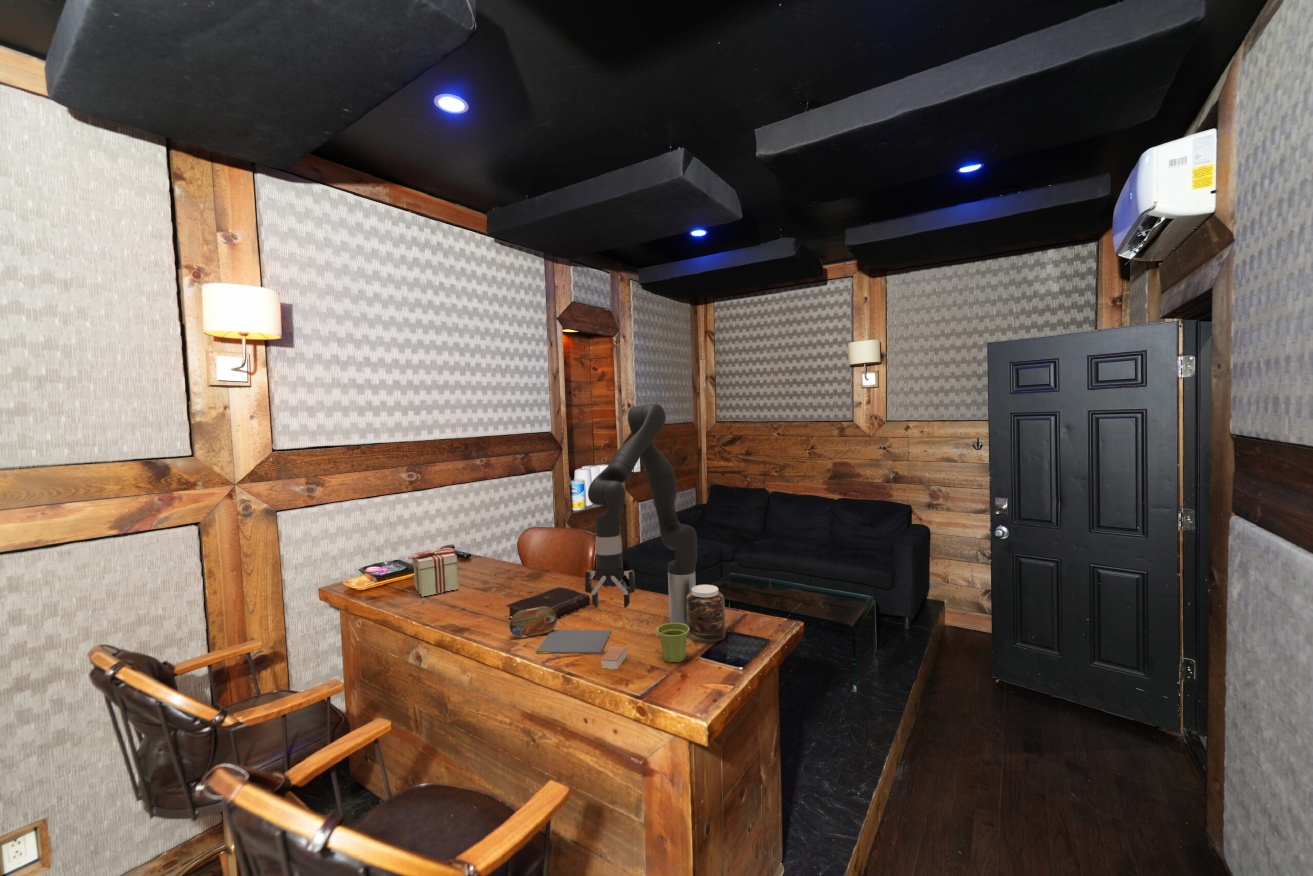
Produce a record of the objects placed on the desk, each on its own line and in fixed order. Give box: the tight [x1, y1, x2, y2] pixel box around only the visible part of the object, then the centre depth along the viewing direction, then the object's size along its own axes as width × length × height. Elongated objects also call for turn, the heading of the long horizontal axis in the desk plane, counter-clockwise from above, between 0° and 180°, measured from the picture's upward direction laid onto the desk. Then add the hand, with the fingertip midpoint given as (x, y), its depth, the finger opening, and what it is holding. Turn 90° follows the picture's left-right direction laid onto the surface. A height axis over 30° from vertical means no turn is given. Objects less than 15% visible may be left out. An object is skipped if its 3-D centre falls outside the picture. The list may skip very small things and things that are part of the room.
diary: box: [505, 586, 591, 619], centre depth 194 cm, size 19×25×5 cm
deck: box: [600, 646, 627, 670], centre depth 152 cm, size 4×8×3 cm, turn 165°
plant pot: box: [656, 622, 689, 664], centre depth 152 cm, size 9×9×9 cm
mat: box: [535, 629, 612, 655], centre depth 166 cm, size 20×16×1 cm
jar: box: [687, 584, 727, 644], centre depth 167 cm, size 12×12×15 cm
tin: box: [508, 606, 558, 639], centre depth 173 cm, size 15×3×8 cm, turn 106°
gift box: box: [407, 546, 459, 596], centre depth 224 cm, size 17×18×17 cm
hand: (611, 606), depth 151 cm, fingers open, 8 cm apart
